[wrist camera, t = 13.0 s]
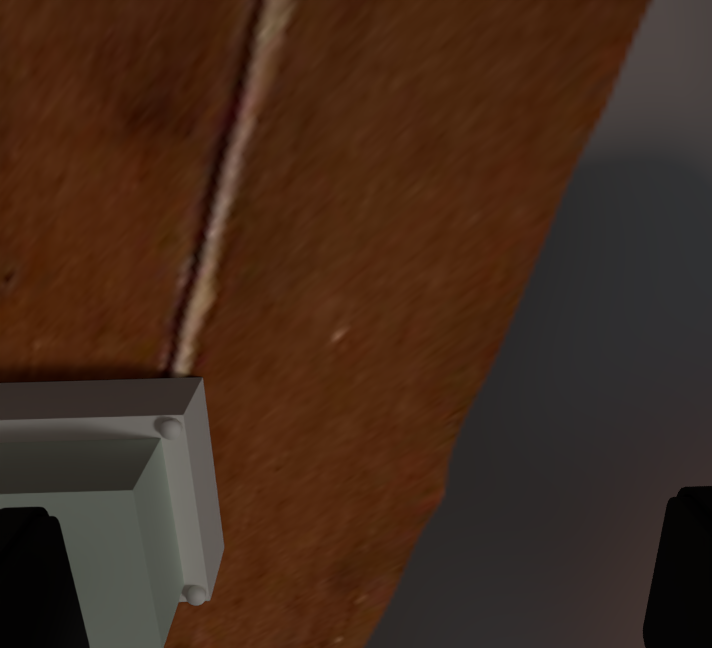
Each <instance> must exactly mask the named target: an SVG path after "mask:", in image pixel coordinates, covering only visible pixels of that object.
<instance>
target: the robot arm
mask: <svg viewBox="0 0 712 648" xmlns="http://www.w3.org/2000/svg"><path fill="white" fill-rule="evenodd" d="M643 638H644V643H645V647H646V648H712V486H697V487H684V488H681V489H680V491H679V492H678V494H677V497H672V498H670V499H669V501H668V503H667V507H666V512H665V517H664V522H663V527H662V532H661V538H660V543H659V548H658V553H657V558H656V563H655V568H654V573H653V579H652V584H651V589H650V594H649V599H648V604H647V609H646V615H645V620H644V625H643ZM0 648H90V646H89V641H88V637H87V633H86V629H85V624H84V620H83V616H82V612H81V608H80V604H79V600H78V596H77V592H76V588H75V583H74V579H73V575H72V571H71V567H70V563H69V559H68V555H67V551H66V547H65V542H64V538H63V534H62V530H61V526H60V523H59V520H58V519H57V518H56V517H55V516H49V514H48V511H47V510H46V509H45V508H44V507H8V508H2V509H0Z"/></svg>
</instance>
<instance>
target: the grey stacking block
mask: <svg viewBox="0 0 712 648" xmlns="http://www.w3.org/2000/svg"><path fill="white" fill-rule="evenodd" d="M8 507H44V508H45V509H46V510H47V511H48V514H49V516H55V517H56V518H57V519H58V520H59V523H60V526H61V530H62V534H63V538H64V542H65V547H66V551H67V555H68V559H69V563H70V567H71V571H72V575H73V579H74V583H75V588H76V592H77V596H78V600H79V604H80V608H81V612H82V616H83V620H84V624H85V629H86V633H87V637H88V641H89V646H90V648H163V647H164V644H165V641H166V638H167V635H168V632H169V629H170V626H171V623H172V620H173V617H174V614H175V611H176V608H177V605H178V602H188V603H190V604H192V605H201V604H202V603H203V602H204V601H210V599H211V595H212V591H213V588H214V584H215V580H216V577H217V573H218V569H219V565H220V562H221V558H222V554H223V551H224V542H223V534H222V526H221V518H220V510H219V502H218V494H217V486H216V478H215V471H214V463H213V455H212V447H211V439H210V431H209V423H208V415H207V407H206V399H205V392H204V384H203V377H195V378H160V379H125V380H91V381H56V382H21V383H0V509H2V508H8Z"/></svg>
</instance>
